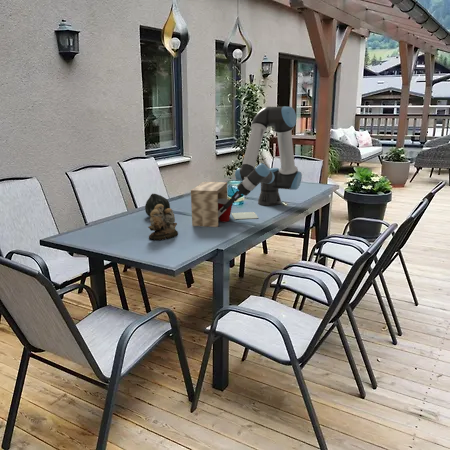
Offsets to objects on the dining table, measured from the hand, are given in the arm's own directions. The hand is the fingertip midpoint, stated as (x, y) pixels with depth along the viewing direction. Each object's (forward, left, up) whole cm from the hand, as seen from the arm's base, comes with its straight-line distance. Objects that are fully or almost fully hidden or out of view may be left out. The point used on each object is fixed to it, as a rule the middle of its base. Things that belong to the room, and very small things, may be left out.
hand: (219, 213), depth 255 cm
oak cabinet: (+5, -2, -5) cm, 7 cm away
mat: (-16, -7, -5) cm, 18 cm away
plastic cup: (-3, +1, -5) cm, 5 cm away
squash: (+35, -17, -5) cm, 39 cm away
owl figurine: (+32, +25, -5) cm, 41 cm away
